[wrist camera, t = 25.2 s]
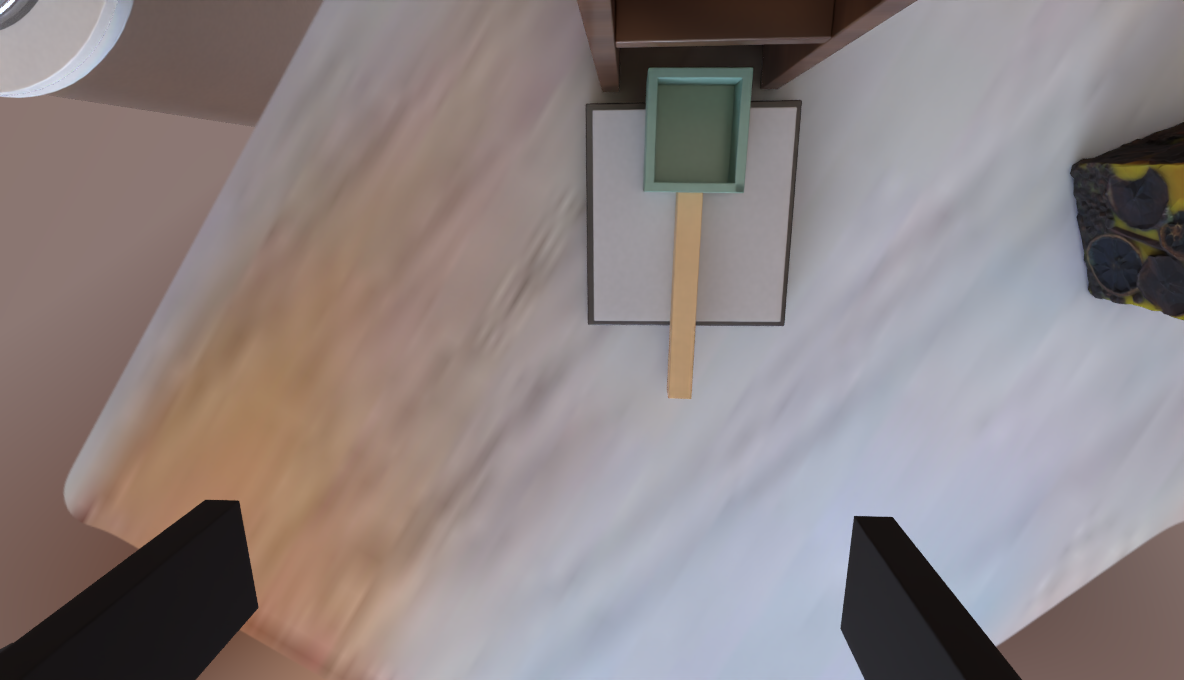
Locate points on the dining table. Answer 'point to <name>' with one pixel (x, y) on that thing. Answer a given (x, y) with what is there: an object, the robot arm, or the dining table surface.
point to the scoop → (693, 177)
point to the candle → (1135, 222)
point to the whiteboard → (728, 230)
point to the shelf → (731, 29)
